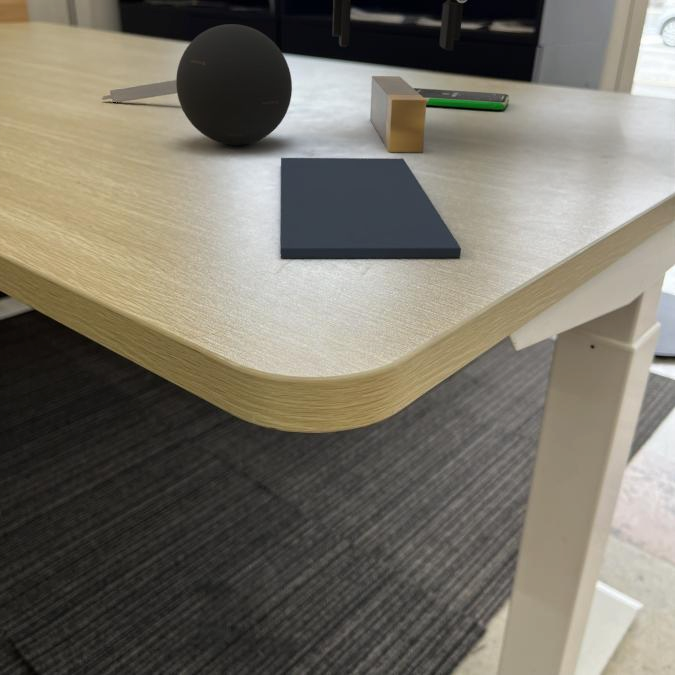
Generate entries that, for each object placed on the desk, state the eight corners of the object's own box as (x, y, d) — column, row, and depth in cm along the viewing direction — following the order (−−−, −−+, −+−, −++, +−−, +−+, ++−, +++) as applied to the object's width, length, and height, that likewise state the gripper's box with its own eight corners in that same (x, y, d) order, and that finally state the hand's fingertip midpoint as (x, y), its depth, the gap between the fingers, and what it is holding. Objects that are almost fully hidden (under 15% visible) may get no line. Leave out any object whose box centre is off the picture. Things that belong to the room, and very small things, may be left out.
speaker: (292, 133, 72) (292, 21, 68) (291, 157, 63) (290, 29, 59) (188, 132, 72) (181, 19, 67) (172, 155, 63) (162, 27, 58)
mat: (403, 165, 61) (403, 158, 61) (460, 258, 42) (461, 247, 41) (281, 165, 61) (281, 157, 60) (280, 258, 41) (280, 248, 41)
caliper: (271, 112, 83) (270, 52, 80) (267, 113, 82) (266, 53, 79) (106, 100, 88) (99, 43, 85) (101, 102, 87) (94, 44, 84)
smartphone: (505, 102, 86) (378, 94, 90) (504, 111, 86) (378, 102, 90) (510, 93, 92) (392, 86, 96) (509, 101, 93) (391, 93, 97)
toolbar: (397, 120, 80) (400, 76, 78) (422, 152, 66) (426, 99, 64) (370, 119, 80) (371, 75, 78) (389, 152, 66) (391, 99, 64)
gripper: (306, -187, 58) (303, 48, 66) (524, -175, 59) (496, 54, 67) (304, -171, 65) (301, 40, 72) (499, -161, 66) (476, 46, 74)
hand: (395, 47), depth 70 cm, fingers open, 9 cm apart
